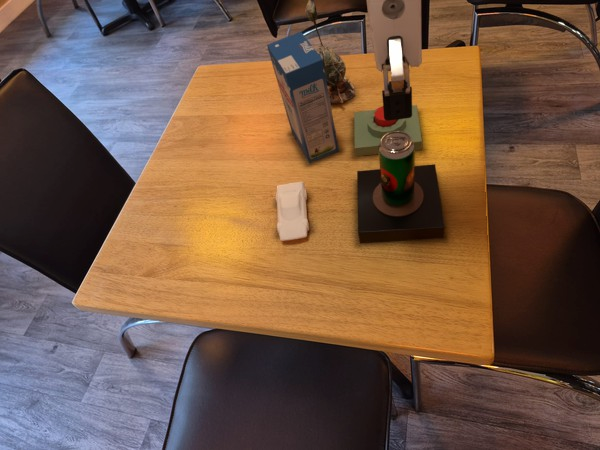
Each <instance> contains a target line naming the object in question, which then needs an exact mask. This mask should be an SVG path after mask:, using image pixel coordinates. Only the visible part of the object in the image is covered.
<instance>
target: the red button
mask: <svg viewBox="0 0 600 450" xmlns="http://www.w3.org/2000/svg"><path fill="white" fill-rule="evenodd" d="M379 107H380V108H379ZM379 107H377V108H378V109H377V108H376V109H377V110H376V111H375V123H376V124H377V125H378V126H380V127H390V126H392V125H394V124H395V123H396V121H397V120H389V121H386V120H385V119H384V110H383V105H381V106H379Z"/></svg>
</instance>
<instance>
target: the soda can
mask: <svg viewBox="0 0 600 450" xmlns="http://www.w3.org/2000/svg"><path fill="white" fill-rule="evenodd" d="M378 151H379V154H378V163H379V169H380V175H381V188H382V197H383V199H384V201H385V202H387V203H388V204H390V205H393V206H402V205H405V204H407V203H409V202H410V201H411V200H412V199H413V197H414V184H415V166H416V165H415V164H416V150H415V144H414V142H413V140H412V138H411V136H410V135H409V134H407V133H406V132H403V131H393V132H389V133H387V134H386V135H384V136H383V137H382V139H381V142H380V144H379V146H378Z"/></svg>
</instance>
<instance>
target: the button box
mask: <svg viewBox="0 0 600 450" xmlns="http://www.w3.org/2000/svg"><path fill="white" fill-rule="evenodd" d="M380 107H381V106H379V107H377V108H374V109H370V110H360V111H354V112H353V122H354V123H353V127H354V128H353V129H354V130H353V132H354V136H353V137H354V139H353V140H354V141H353V142H354V153H355V157H361V156H363V157H364V156H373V155H379V151H378V146H379V144H380V142H381V139H382V137H383V136H384V135H386V134H387V133H389V132H393V131H403V132H406V133H407V134H409V135H410V136H411V138H412V140H413V142H414V144H415V151H422V149H423V138H422V132H421V131H422V130H421V123H420V118H419V108H418V105H417V104H412V117H411V118H406V119H397V121H396V123H395V124H394V125H392V126H390V127H380V126H378V125H377V124H376V123H375V111H376V110H377V109H378V108H380Z"/></svg>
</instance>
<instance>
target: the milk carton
mask: <svg viewBox="0 0 600 450" xmlns="http://www.w3.org/2000/svg"><path fill="white" fill-rule="evenodd" d="M266 47H267V51H268V54H269V57H270V61H271V64H272V68H273V72H274V75H275V78H276V82H277V86H278V89H279V93H280V97H281V99H282V102H283V107H284V110H285V113H286V117H287V120H288V125H289V127H290V131H291V134H292V136H293V138H294V139H295V141H296V143H297V145H298V147H299V148H300V150H301V151H302V153H303V155H304V157H305V159H306V160H307V163H308V164H312V163H314V162H317V161H319V160H321V159H323V158H326V157H328V156H331V155H333V154H335V153H338V152H340V149H339V143H338V138H337V137H338V136H337V132H336V127H335V121H334V116H333V109H332V103H330V98H329V93H328V88H327V82H326V77H325V71H324V66H323V60H322V58H321V57H320V55H319V54H318V53H317V52H316V51H317V49H315V48H314V46H313V45H312V44H311V43H310V41H309V40H308V39H307V37H306V36H305V35H304V34H303V32H302V31H298V32H295V33H293V34H291V35H288V36H286V37H283V38H279V39H278V40H276V41H273V42H271V43H268V44H266Z"/></svg>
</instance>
